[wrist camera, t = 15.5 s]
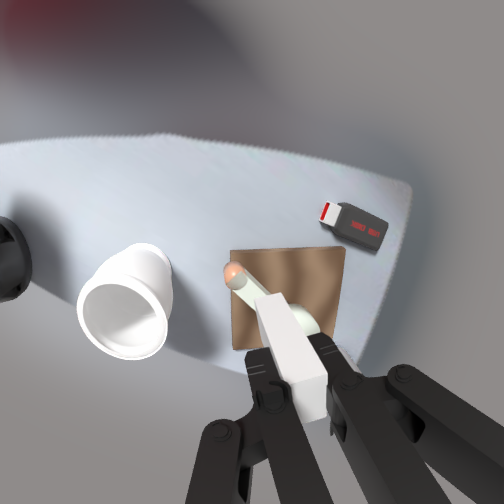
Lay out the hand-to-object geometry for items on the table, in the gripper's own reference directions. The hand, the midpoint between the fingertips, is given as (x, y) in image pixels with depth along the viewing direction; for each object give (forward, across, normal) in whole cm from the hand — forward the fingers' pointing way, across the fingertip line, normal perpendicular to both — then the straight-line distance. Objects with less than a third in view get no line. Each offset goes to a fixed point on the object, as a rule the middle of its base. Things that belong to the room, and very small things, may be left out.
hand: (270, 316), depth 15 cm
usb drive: (+27, -19, +4) cm, 33 cm away
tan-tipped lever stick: (+20, -3, +11) cm, 23 cm away
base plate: (+26, -7, +14) cm, 31 cm away
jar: (+27, +14, +5) cm, 30 cm away
